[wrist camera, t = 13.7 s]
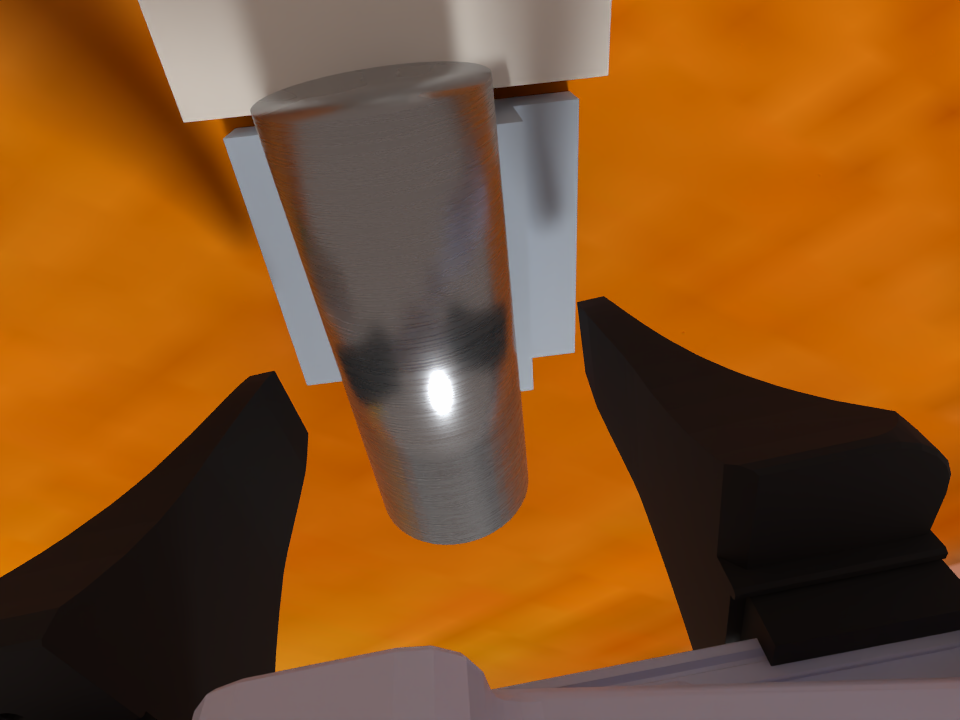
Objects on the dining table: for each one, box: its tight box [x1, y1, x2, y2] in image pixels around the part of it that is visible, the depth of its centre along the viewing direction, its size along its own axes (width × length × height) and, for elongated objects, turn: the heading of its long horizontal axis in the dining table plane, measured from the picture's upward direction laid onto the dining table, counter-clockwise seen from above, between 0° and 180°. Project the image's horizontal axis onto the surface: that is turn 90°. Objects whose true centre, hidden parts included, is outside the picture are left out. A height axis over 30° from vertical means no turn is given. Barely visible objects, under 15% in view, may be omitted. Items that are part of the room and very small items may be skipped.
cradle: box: [223, 91, 579, 411], centre depth 14 cm, size 8×7×2 cm
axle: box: [250, 61, 528, 545], centre depth 12 cm, size 10×4×4 cm, turn 7°
